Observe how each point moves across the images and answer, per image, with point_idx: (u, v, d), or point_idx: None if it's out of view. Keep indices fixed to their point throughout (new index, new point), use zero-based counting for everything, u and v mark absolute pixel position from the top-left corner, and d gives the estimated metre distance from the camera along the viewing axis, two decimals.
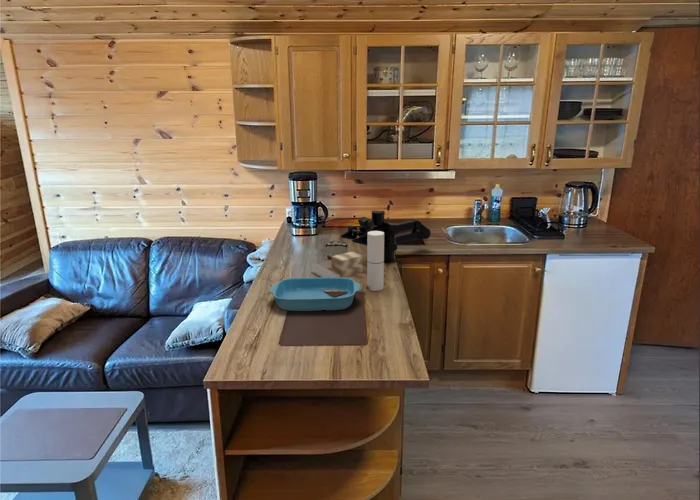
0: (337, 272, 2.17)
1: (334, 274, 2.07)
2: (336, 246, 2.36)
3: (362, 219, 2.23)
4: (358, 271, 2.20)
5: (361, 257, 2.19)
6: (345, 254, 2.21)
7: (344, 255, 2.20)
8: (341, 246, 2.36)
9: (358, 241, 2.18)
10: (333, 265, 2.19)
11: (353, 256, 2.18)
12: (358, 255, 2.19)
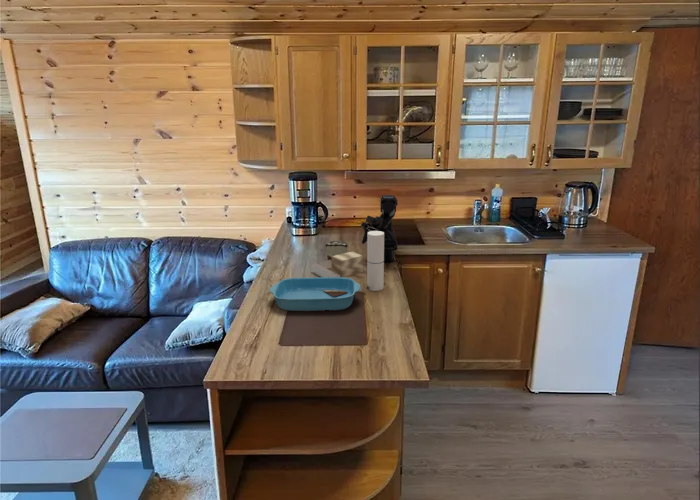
0: (337, 272, 2.17)
1: (334, 274, 2.07)
2: (336, 246, 2.36)
3: (368, 220, 2.21)
4: (358, 271, 2.20)
5: (361, 257, 2.19)
6: (345, 254, 2.21)
7: (344, 255, 2.20)
8: (341, 246, 2.36)
9: None
10: (333, 265, 2.19)
11: (353, 256, 2.18)
12: (358, 255, 2.19)
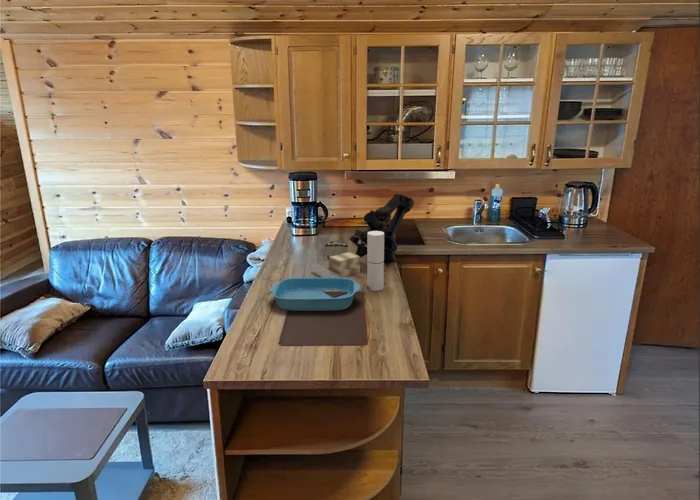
0: None
1: (334, 274, 2.07)
2: (336, 246, 2.36)
3: (357, 234, 2.19)
4: (355, 272, 2.19)
5: (358, 258, 2.18)
6: (343, 255, 2.20)
7: (341, 255, 2.19)
8: (341, 246, 2.36)
9: (360, 255, 2.22)
10: (330, 266, 2.18)
11: (350, 257, 2.17)
12: (355, 256, 2.18)
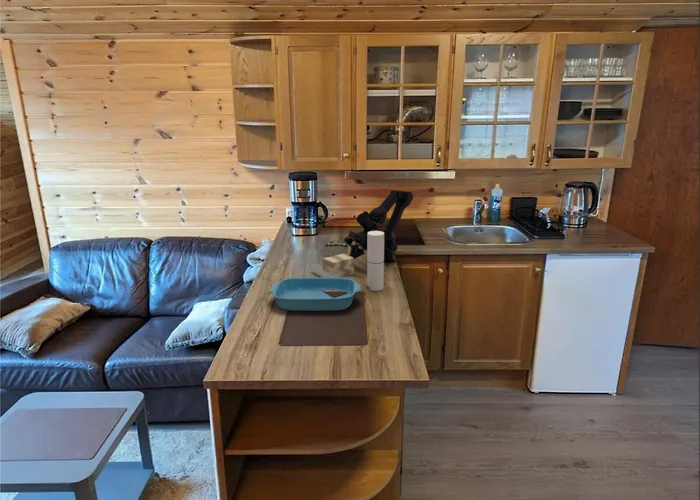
0: None
1: (334, 274, 2.07)
2: (336, 246, 2.36)
3: (351, 235, 2.17)
4: (349, 273, 2.17)
5: (352, 259, 2.16)
6: (337, 256, 2.18)
7: (335, 257, 2.17)
8: (341, 246, 2.36)
9: (354, 257, 2.20)
10: (324, 267, 2.16)
11: (344, 258, 2.15)
12: (349, 257, 2.16)
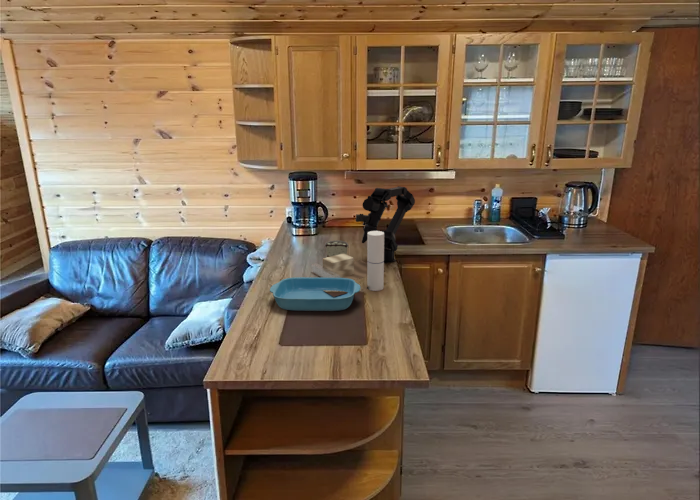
0: None
1: (334, 274, 2.07)
2: (336, 246, 2.36)
3: None
4: (349, 273, 2.17)
5: (352, 259, 2.16)
6: (337, 256, 2.18)
7: (335, 257, 2.17)
8: (341, 246, 2.36)
9: (366, 238, 2.26)
10: (324, 267, 2.16)
11: (344, 258, 2.15)
12: (349, 257, 2.16)
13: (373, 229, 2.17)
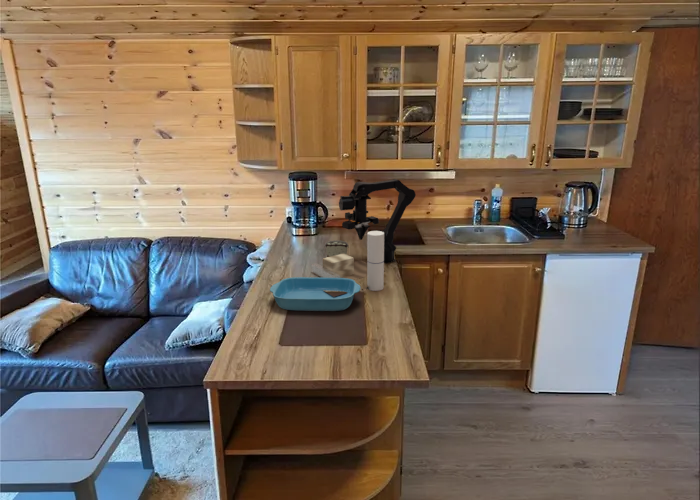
0: None
1: (334, 274, 2.07)
2: (336, 246, 2.36)
3: None
4: (349, 273, 2.17)
5: (352, 259, 2.16)
6: (337, 256, 2.18)
7: (335, 257, 2.17)
8: (341, 246, 2.36)
9: (359, 234, 2.29)
10: (324, 267, 2.16)
11: (344, 258, 2.15)
12: (349, 257, 2.16)
13: (346, 225, 2.23)
